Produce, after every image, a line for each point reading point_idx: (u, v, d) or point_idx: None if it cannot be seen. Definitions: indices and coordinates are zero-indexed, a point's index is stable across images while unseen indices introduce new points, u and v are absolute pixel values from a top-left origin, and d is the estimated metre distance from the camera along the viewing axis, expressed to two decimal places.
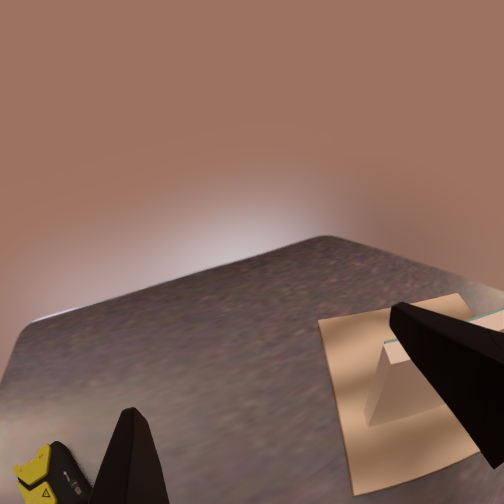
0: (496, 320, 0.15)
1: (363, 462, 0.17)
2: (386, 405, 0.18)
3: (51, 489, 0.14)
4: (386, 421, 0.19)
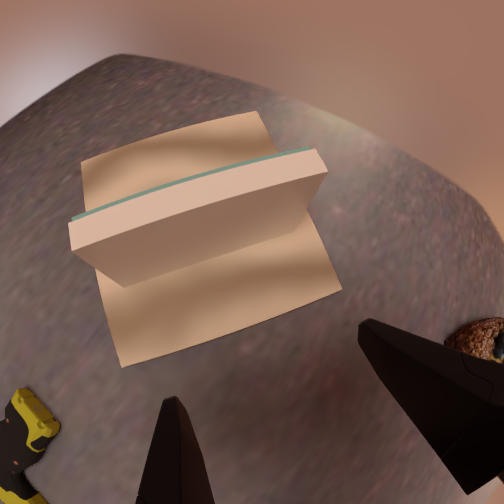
0: (237, 178, 0.15)
1: (123, 329, 0.21)
2: (119, 273, 0.18)
3: None
4: (141, 281, 0.22)
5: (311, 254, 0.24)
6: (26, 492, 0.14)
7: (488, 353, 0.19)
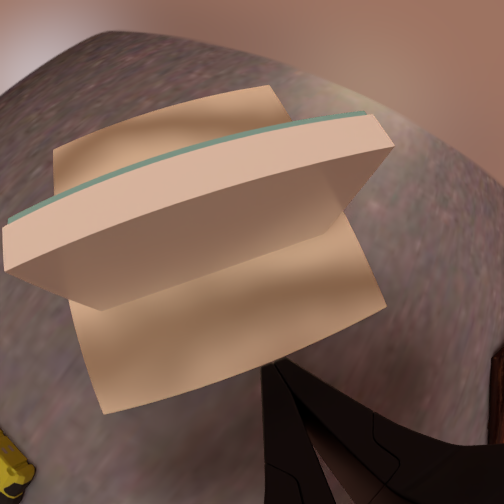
0: (265, 150, 0.09)
1: (103, 366, 0.15)
2: (89, 296, 0.12)
3: None
4: (123, 302, 0.16)
5: (348, 262, 0.18)
6: None
7: None
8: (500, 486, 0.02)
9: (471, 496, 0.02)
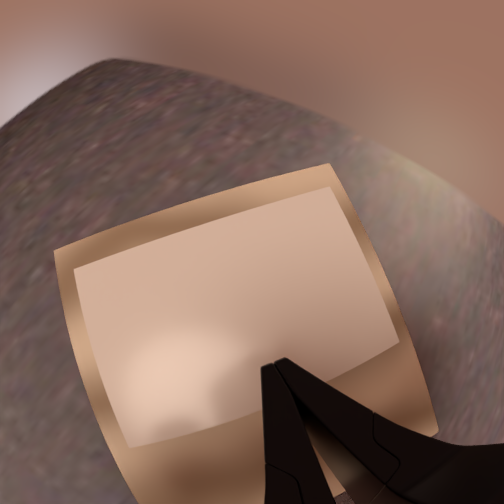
0: None
1: None
2: (117, 374, 0.12)
3: None
4: (156, 435, 0.11)
5: (411, 398, 0.14)
6: None
7: None
8: (500, 486, 0.02)
9: (471, 496, 0.02)
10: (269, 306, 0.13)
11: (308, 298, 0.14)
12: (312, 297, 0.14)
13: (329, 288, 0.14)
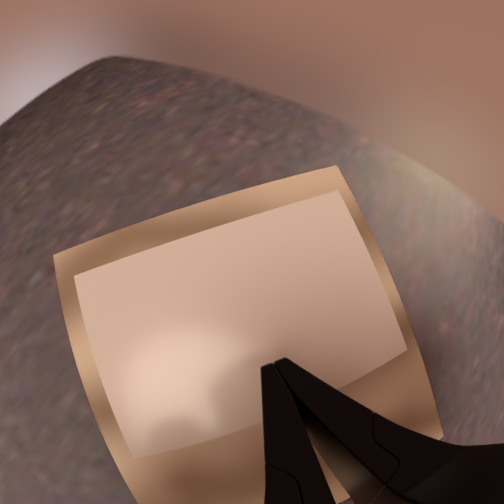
0: None
1: None
2: (120, 384, 0.11)
3: None
4: (161, 446, 0.11)
5: (417, 404, 0.14)
6: None
7: None
8: (500, 486, 0.02)
9: (471, 496, 0.02)
10: (277, 315, 0.13)
11: (316, 306, 0.13)
12: (320, 305, 0.13)
13: (338, 296, 0.14)
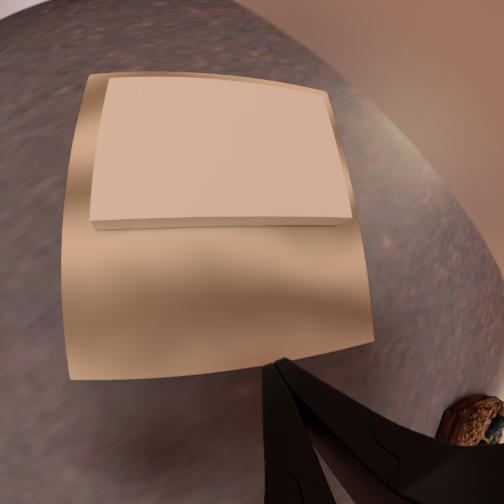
0: None
1: (83, 328, 0.13)
2: (111, 153, 0.13)
3: None
4: (120, 213, 0.13)
5: (353, 290, 0.18)
6: None
7: (483, 433, 0.16)
8: (500, 486, 0.02)
9: (471, 496, 0.02)
10: (254, 143, 0.16)
11: (286, 150, 0.16)
12: (289, 151, 0.16)
13: (304, 151, 0.17)
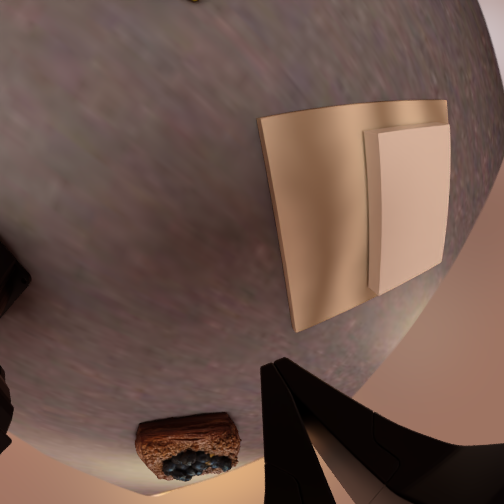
0: None
1: (301, 127, 0.18)
2: (411, 139, 0.19)
3: None
4: (382, 154, 0.19)
5: (329, 307, 0.26)
6: None
7: (217, 453, 0.26)
8: (500, 486, 0.02)
9: (471, 496, 0.02)
10: (416, 226, 0.23)
11: (413, 246, 0.24)
12: (412, 248, 0.24)
13: (412, 257, 0.25)
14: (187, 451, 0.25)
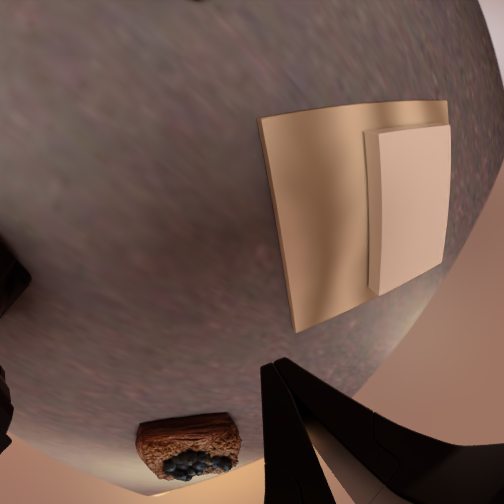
0: None
1: (301, 128, 0.18)
2: (411, 140, 0.19)
3: None
4: (383, 154, 0.19)
5: (329, 308, 0.26)
6: None
7: (218, 453, 0.26)
8: (500, 486, 0.02)
9: (471, 496, 0.02)
10: (416, 227, 0.23)
11: (413, 246, 0.24)
12: (412, 248, 0.24)
13: (412, 257, 0.25)
14: (188, 451, 0.25)
